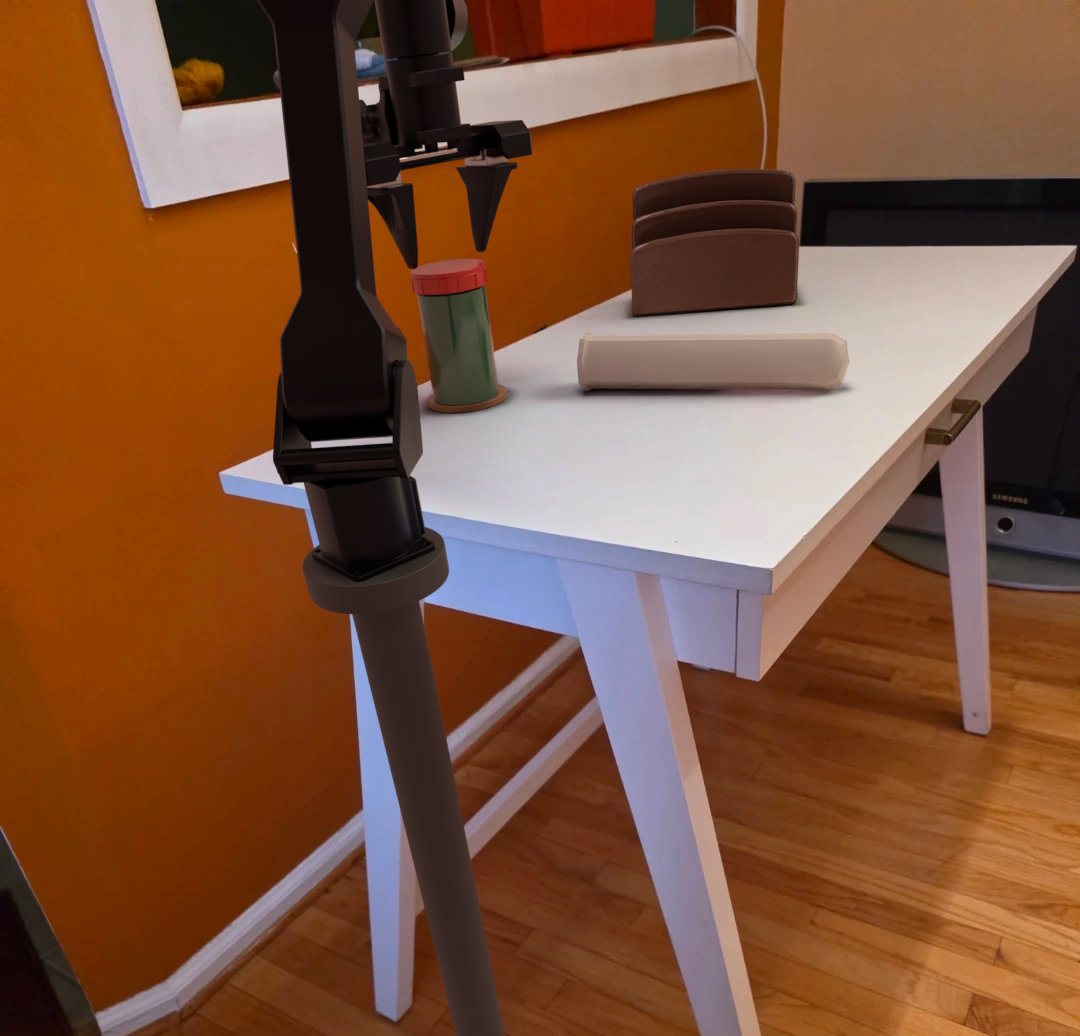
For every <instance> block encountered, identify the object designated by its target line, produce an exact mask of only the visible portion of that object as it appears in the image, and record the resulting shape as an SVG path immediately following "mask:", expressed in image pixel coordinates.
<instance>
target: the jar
mask: <svg viewBox="0 0 1080 1036" xmlns="http://www.w3.org/2000/svg"><path fill="white" fill-rule="evenodd" d="M487 293H488V292H487V285H486V284H485V285H483V286H481V287H478V288H475V289H471V290H467V291H462V292H457V293H450V294H439V295H423V294H417V293H415V294H416V295H415V296H416V300H417V306H418V311H419V318H420V324H421V330H422V334H423V335H422V337H423V342H424V348H425V355H426V361H427V366H428V372H429V378H430V384H431V392H432V394H433V397H434V401H435V402H436V403H439V404H442V405H453V406H455V405H468V404H474V403H479V402H482V401H486V400H488V399H491V398H493V397H494V396H496V395H497V394H498V392H499V387H498V384H499V382H498V372H497V371H498V370H497V365H496V356H495V348H494V341H493V334H492V332H493V331H492V325H491V318H490V308H489V302H488V301H489V300H488V294H487Z"/></svg>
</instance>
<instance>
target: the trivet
mask: <svg viewBox="0 0 1080 1036" xmlns="http://www.w3.org/2000/svg"><path fill="white" fill-rule="evenodd" d="M498 387H499V392H498V394H497V395H496V396H494V397H493V398H491V399H488V400H486V401H482V402H479V403H474V404H468V405H455V406H453V405H442V404H439V403H436V402H435V401H434V397H433V393H432V394H430V395H429V396H428V398H427V403H428V407H429V408H430V409H431V410H433V411H436V412H440V413H448V414H456V413H457V414H459V413H460V414H461V413H470V412H475V411H480V410H485V409H488V408H491V407H494V406H496V405H498V404H500V403H502V402H503V401H505V400H506V399H507V397H508V391H507V390H508V389H507V388H506V387H505V386H504V385H503V384H499V383H498Z"/></svg>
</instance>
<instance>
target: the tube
mask: <svg viewBox="0 0 1080 1036" xmlns="http://www.w3.org/2000/svg"><path fill="white" fill-rule="evenodd" d="M578 342H579V343H578V349H577V356H576V366H577V367H576V369H577V381H578V385H580V387H581V388H582V390H583V391H584V392H585V391H586V392H590V391H591V390H593V389H608V390H609V389H614V390H615V389H616V390H617V389H619V390H620V389H621V390H622V389H623V390H627V389H628V390H629V389H630V390H717V391H718V390H721V391H722V390H723V391H724V390H726V391H728V390H729V391H730V390H731V391H732V390H734V391H819V392H820V391H821V392H822V391H824V392H825V391H828V390H831V389H833V388H836V387H838V386H840V385H842V384H843V383H844V379H845V376H846V373H847V372H848V371H847V370H848V369H849V364H850V355H849V348H848V347H849V346H848V340H847V339H844V338H842V337H840V336H839V335H836V334H834V333H747V334H746V333H744V334H743V333H740V334H737V333H736V334H731V333H730V334H729V333H728V334H634V335H633V334H629V335H628V334H627V335H626V334H625V335H622V334H621V335H619V334H618V335H616V334H615V335H594V334H593V333H592V332H586V333H584V335H583V336H582V337H580V338H579V341H578Z"/></svg>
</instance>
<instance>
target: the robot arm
mask: <svg viewBox="0 0 1080 1036" xmlns="http://www.w3.org/2000/svg"><path fill="white" fill-rule="evenodd" d="M256 2H257V4H258V5H259V7H260V8H261V9H262V11H263V13H264V14H265V16H266V17H267V19H268V20H269V22H270V24H271V25H272V29H273V39H274V47H275V55H276V65H277V76H278V86H279V94H280V104H281V113H282V123H283V132H284V133H283V134H284V141H285V142H284V143H285V151H286V159H287V160H286V161H287V170H288V181H289V189H290V199H291V208H292V210H291V211H292V217H293V219H292V220H293V227H294V237H295V247H296V257H297V266H298V276H299V283H300V285H299V286H300V287H299V289H300V294H299V296H298V298H297V300H296V303H295V304H294V307H293V309H292V310H291V313H290V315H289V317H288V320H287V322H286V323H285V326H284V329H283V330H282V332H281V335H280V338H279V351H280V352H279V353H280V354H279V355H280V372H279V374H278V378H277V387H276V402H275V418H274V431H273V433H274V434H273V448H272V463H273V465H274V467H275V469H276V473H277V474H278V476H279V478H280V480H281V482H282V485H283V486H289V485H290V486H291V485H294V484H302V483H303V486H304V490H305V493H306V498H307V501H308V505H309V510H310V513H311V517H312V521H313V525H314V530H315V533H316V535H317V540H318V545H320V547H319V548H317V549H314V548H313V549H314V550H313V549H312V550H313V551H312V550H311V551H312V552H311V551H310V552H311V554H312V558H313V559H315V560H316V561H318V562H320V563H322V564H324V565H325V566H327V567H329V568H331V569H333V570H335V571H336V572H338V573H340V574H342V575H344V576H345V577H347V578H349V579H351V580H353V581H355V582H363V581H365V580H368V579H370V578H372V577H375V576H377V575H379V574H382V573H384V572H386V571H388V570H391V569H393V568H395V567H398V566H400V565H402V564H405V563H407V562H409V561H412V560H414V559H416V558H418V557H421V556H423V555H425V554H428V553H430V552H432V551H434V550H435V543H434V542H433V541H431V540H429V539H426V538H424V537H422V536H421V535H423V534H425V527H426V526H425V521H424V515H423V510H422V509H423V508H422V504H421V499H420V494H419V488H418V483H417V479H416V478H415V477H414V476H412V475H411V474H412V473H413V471H414V469H415V467H416V466H417V465H418V463H419V461H420V459H421V458H422V456H423V454H424V446H423V445H424V444H423V435H422V424H421V423H422V422H421V412H420V411H421V410H420V397H419V389H418V382H417V376H416V372H415V368H414V367H413V364H412V362H411V361H410V360H409V359H408V342H407V339H406V337H405V335H404V333H403V331H402V330H401V328H400V327H399V326H397V325H396V324H395V323H394V321H393V320H392V318H391V316H390V314H389V313H388V312H387V311H386V308H384V306H383V304H382V303H381V302H380V300H379V299H378V298H379V297H378V295H377V287H376V276H375V274H376V273H375V265H374V252H373V241H372V231H371V229H372V228H371V220H370V219H371V217H370V208H369V203H370V204H371V205H372V206H373V207H374V208H375V210H376V211H377V212H378V214H379V215H380V217H381V219H382V220H383V222H384V224H385V226H386V227H387V229H388V231H389V233H390V235H391V237H392V239H393V241H394V243H395V245H396V247H397V249H398V251H399V253H400V255H401V257H402V259H403V261H404V262H405V263H404V264H405V265H406V267H407V268H408V269H409V270H412V269H417V267H419V246H418V234H417V232H418V231H417V221H416V220H417V219H416V209H415V208H416V206H415V195H414V185H413V183H412V182H407V183H405V182H403V177H402V172H401V171H406V170H412V169H415V168H416V169H417V168H421V167H427V166H432V165H438V164H442V163H448V162H454V161H460V160H464V165H459V166H455V169H456V171H457V173H458V175H459V177H460V178H461V180H462V182H463V184H464V186H465V189H466V195H467V196H466V197H467V203H468V211H469V218H470V227H471V234H472V239H473V244H474V248H475V251H476V252H478V253H484V252H486V250H487V247H488V244H489V242H490V237H491V234H492V231H493V230H492V229H493V226H494V222H495V219H496V216H497V212H498V208H499V205H500V202H501V199H502V196H503V194H504V191H505V189H506V186H507V183H508V181H509V177H510V175H511V172H512V171H513V170H517V169H518V162H517V161H508V160H511V159H512V160H513V159H516V158H523V157H528V156H532V155H533V144H532V134H531V131H530V129H529V128H528V126H527V125H526V123H525V122H524V121H523V119H514V120H511V119H510V120H497V121H495V120H494V121H488V122H487V121H486V122H482V123H475V124H471V123H462V121H461V112H460V104H459V97H458V89H457V82H462V81H465V71H464V65H458V66H454V58H453V51H454V50H455V49H456V48H457V47H458V46H460V44H461V43H462V41H463V40H464V37H465V35H466V32H467V28H468V24H469V13H468V7H467V4H466V2H465V0H256ZM373 2H374V4H375V11H376V17H377V24H378V30H379V36H380V42H381V48H382V53H383V54H382V55H383V60H384V68H385V73H386V75H381V76H378V81H379V82H378V85H377V86H378V87H377V88H378V93H379V99H378V102H376V103H373V104H366V102H365V101H364V99H360V93H359V83H358V82H359V81H358V69H357V59H356V46H355V44H356V43H355V42H356V40H357V38H358V36H359V33H360V31H361V28H362V26H363V24H364V22H365V20H366V17H367V15H368V13H369V11H370V8H371V6H372V4H373ZM443 143H446V145H447V146H442V147H439V144H443ZM423 149H424V150H423ZM416 150H419V151H416ZM379 438H392V439H391V440H392V441H391V442H383V443H369V444H368V443H367V444H366V443H365V444H354V445H337V446H323V447H322V446H321V447H312V443H316V442H317V443H318V442H319V443H320V442H333V441H334V442H335V441H347V440H362V439H363V440H365V439H379Z"/></svg>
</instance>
